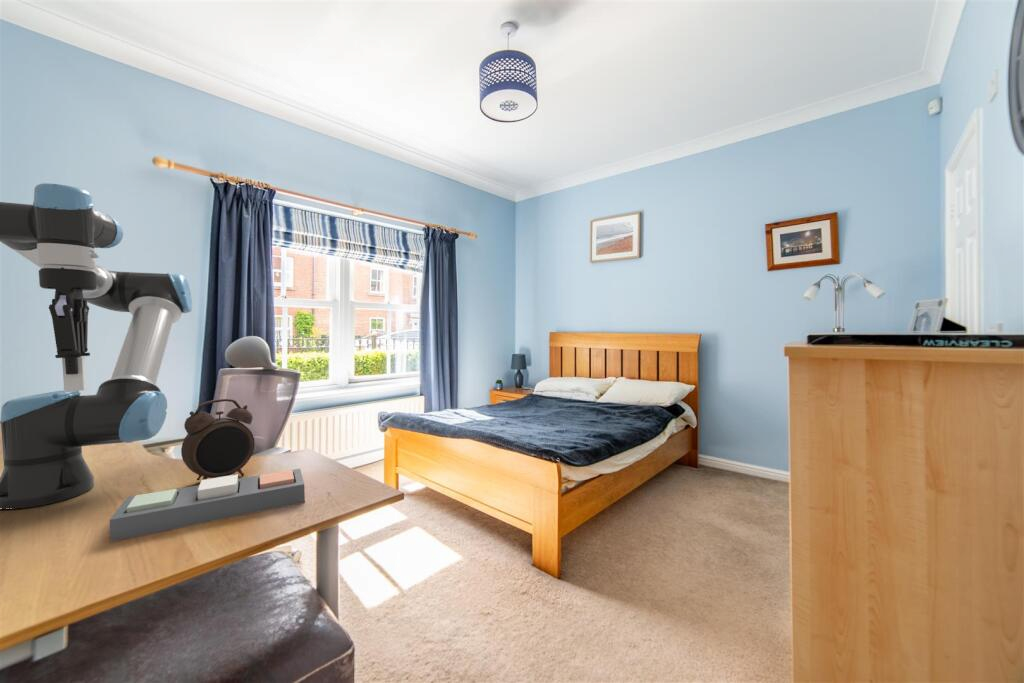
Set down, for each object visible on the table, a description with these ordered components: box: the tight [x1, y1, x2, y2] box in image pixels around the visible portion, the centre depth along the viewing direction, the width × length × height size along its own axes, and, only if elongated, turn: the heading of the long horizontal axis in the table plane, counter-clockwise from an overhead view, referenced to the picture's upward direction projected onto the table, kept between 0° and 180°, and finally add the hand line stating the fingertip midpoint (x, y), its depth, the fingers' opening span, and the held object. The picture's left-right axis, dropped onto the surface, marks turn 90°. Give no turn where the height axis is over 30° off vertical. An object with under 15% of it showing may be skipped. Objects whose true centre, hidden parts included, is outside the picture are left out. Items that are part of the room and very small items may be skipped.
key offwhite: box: [198, 473, 239, 500], centre depth 86 cm, size 6×6×3 cm
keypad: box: [109, 468, 306, 543], centre depth 86 cm, size 11×31×4 cm, turn 122°
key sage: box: [127, 488, 178, 513], centre depth 80 cm, size 6×6×3 cm
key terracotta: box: [260, 469, 294, 489], centre depth 91 cm, size 6×6×3 cm
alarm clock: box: [180, 398, 255, 481], centre depth 102 cm, size 15×7×20 cm, turn 143°
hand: (75, 390), depth 80 cm, fingers closed
